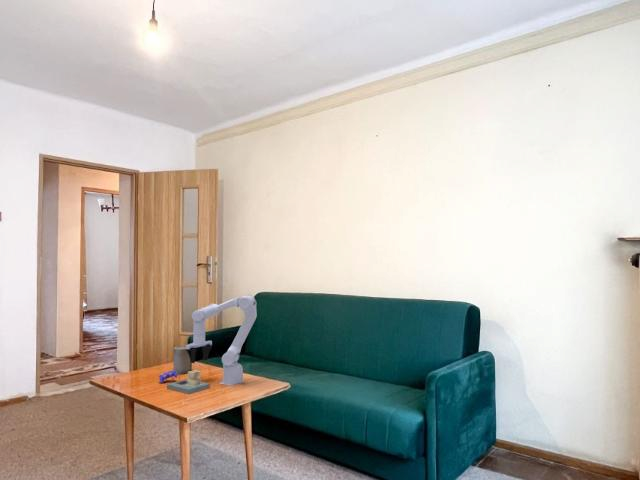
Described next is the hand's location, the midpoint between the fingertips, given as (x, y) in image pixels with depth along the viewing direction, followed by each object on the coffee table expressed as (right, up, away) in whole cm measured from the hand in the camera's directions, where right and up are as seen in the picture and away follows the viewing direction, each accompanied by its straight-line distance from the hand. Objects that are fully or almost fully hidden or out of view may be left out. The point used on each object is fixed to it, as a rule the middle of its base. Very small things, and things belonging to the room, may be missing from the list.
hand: (199, 361), depth 211 cm
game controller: (-16, -11, +1) cm, 19 cm away
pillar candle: (-15, -12, +21) cm, 29 cm away
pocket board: (-2, -10, -12) cm, 15 cm away
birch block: (+1, -7, -14) cm, 15 cm away
